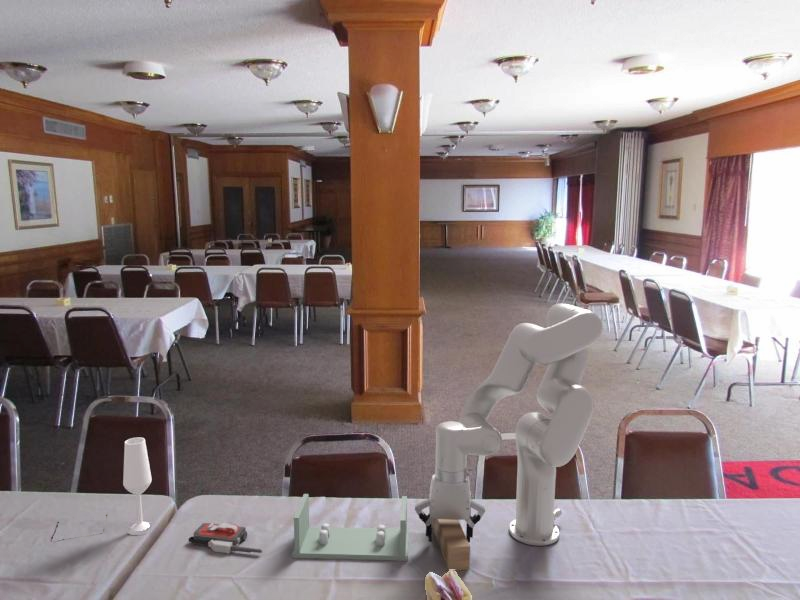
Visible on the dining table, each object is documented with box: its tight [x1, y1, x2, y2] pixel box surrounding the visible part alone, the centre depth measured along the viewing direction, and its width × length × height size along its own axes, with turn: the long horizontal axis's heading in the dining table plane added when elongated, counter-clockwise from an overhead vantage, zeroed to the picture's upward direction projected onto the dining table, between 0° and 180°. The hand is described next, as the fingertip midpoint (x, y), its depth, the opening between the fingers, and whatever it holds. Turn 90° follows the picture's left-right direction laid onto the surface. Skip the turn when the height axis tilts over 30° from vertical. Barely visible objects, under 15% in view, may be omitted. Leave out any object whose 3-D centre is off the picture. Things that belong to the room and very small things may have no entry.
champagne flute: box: [122, 436, 153, 531], centre depth 153 cm, size 7×7×24 cm
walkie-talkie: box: [188, 522, 263, 555], centre depth 148 cm, size 9×4×20 cm
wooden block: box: [432, 519, 471, 571], centre depth 147 cm, size 20×5×6 cm, turn 8°
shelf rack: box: [291, 493, 410, 562], centre depth 147 cm, size 28×12×10 cm, turn 88°
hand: (449, 538), depth 147 cm, fingers open, 9 cm apart
